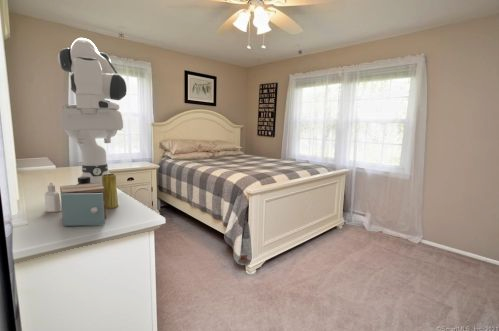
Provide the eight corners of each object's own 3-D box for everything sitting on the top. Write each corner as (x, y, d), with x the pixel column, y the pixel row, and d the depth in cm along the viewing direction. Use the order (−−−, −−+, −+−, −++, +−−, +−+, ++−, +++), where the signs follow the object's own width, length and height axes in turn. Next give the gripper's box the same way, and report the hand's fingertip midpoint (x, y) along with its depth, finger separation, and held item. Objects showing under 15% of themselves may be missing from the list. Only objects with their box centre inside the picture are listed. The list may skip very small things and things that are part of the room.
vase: (111, 209, 112) (109, 176, 110) (99, 208, 113) (97, 175, 111) (121, 205, 118) (119, 173, 116) (109, 204, 119) (107, 173, 117)
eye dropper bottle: (47, 213, 104) (45, 184, 103) (45, 210, 108) (43, 181, 107) (61, 211, 108) (58, 182, 106) (58, 208, 111) (56, 180, 110)
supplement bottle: (97, 203, 120) (95, 177, 118) (80, 206, 115) (78, 179, 113) (90, 200, 124) (88, 175, 122) (74, 203, 119) (72, 177, 117)
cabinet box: (62, 216, 102) (60, 186, 100) (100, 210, 110) (98, 182, 108) (64, 225, 93) (62, 192, 91) (106, 218, 101) (104, 188, 99)
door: (64, 224, 92) (62, 193, 90) (104, 223, 94) (102, 193, 92) (61, 226, 90) (59, 195, 88) (102, 225, 92) (100, 194, 90)
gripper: (54, 103, 90) (58, 144, 92) (115, 103, 91) (118, 143, 93) (66, 105, 96) (70, 143, 98) (123, 105, 97) (126, 142, 99)
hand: (94, 143), depth 95 cm, fingers open, 8 cm apart
